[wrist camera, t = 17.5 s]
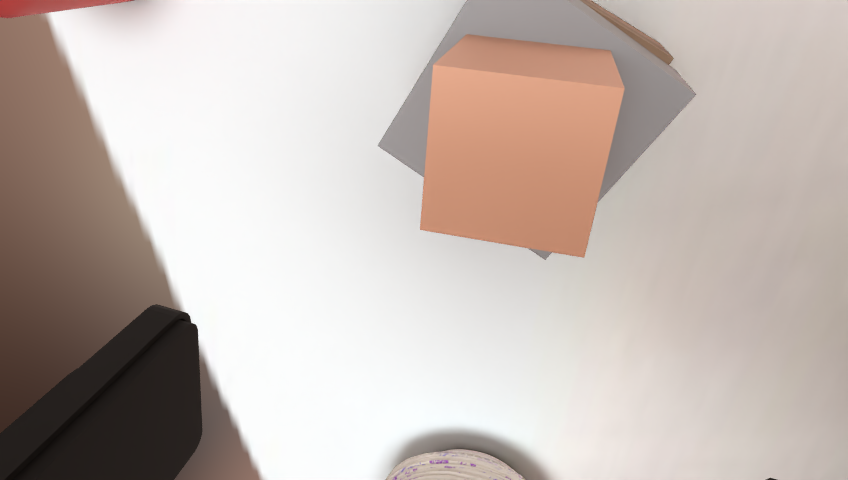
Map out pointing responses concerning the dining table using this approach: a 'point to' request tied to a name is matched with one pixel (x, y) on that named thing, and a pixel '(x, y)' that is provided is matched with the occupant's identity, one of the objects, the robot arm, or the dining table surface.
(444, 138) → the terracotta block
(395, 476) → the paper bowls
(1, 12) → the beer can
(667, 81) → the slate slab
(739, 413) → the dining table surface
